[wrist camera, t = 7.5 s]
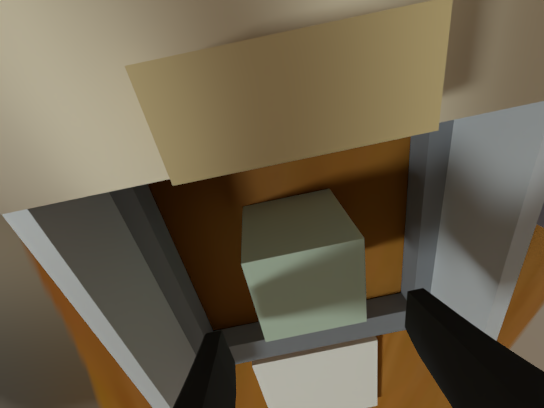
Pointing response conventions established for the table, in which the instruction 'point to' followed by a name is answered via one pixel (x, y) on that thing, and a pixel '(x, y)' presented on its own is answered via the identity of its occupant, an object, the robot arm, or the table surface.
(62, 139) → the lid
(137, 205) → the grey shallow open box
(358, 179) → the table surface
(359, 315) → the block
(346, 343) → the tile
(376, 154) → the table surface
